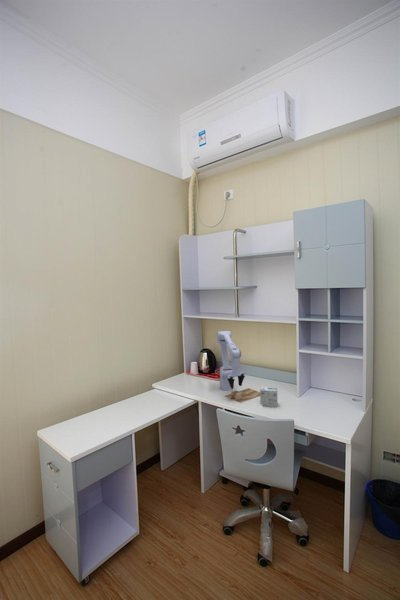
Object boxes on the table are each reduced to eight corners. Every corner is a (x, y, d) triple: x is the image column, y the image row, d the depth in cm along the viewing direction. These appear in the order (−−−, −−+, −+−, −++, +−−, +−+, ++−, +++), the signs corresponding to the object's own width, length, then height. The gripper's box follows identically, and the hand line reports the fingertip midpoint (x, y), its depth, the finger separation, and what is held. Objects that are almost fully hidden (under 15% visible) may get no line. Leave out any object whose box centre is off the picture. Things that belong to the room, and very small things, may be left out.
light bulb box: (277, 403, 199) (277, 387, 198) (277, 407, 192) (277, 390, 192) (260, 402, 202) (260, 386, 201) (260, 406, 195) (259, 389, 194)
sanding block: (230, 397, 209) (230, 391, 208) (235, 395, 211) (234, 390, 211) (237, 400, 203) (237, 394, 203) (242, 398, 205) (242, 392, 205)
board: (224, 397, 211) (224, 395, 211) (248, 389, 225) (248, 388, 225) (240, 404, 198) (240, 402, 198) (265, 395, 212) (265, 394, 212)
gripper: (231, 370, 198) (232, 390, 199) (247, 366, 207) (247, 385, 208) (224, 368, 204) (225, 388, 205) (240, 364, 213) (240, 383, 213)
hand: (236, 386), depth 206 cm, fingers open, 7 cm apart
